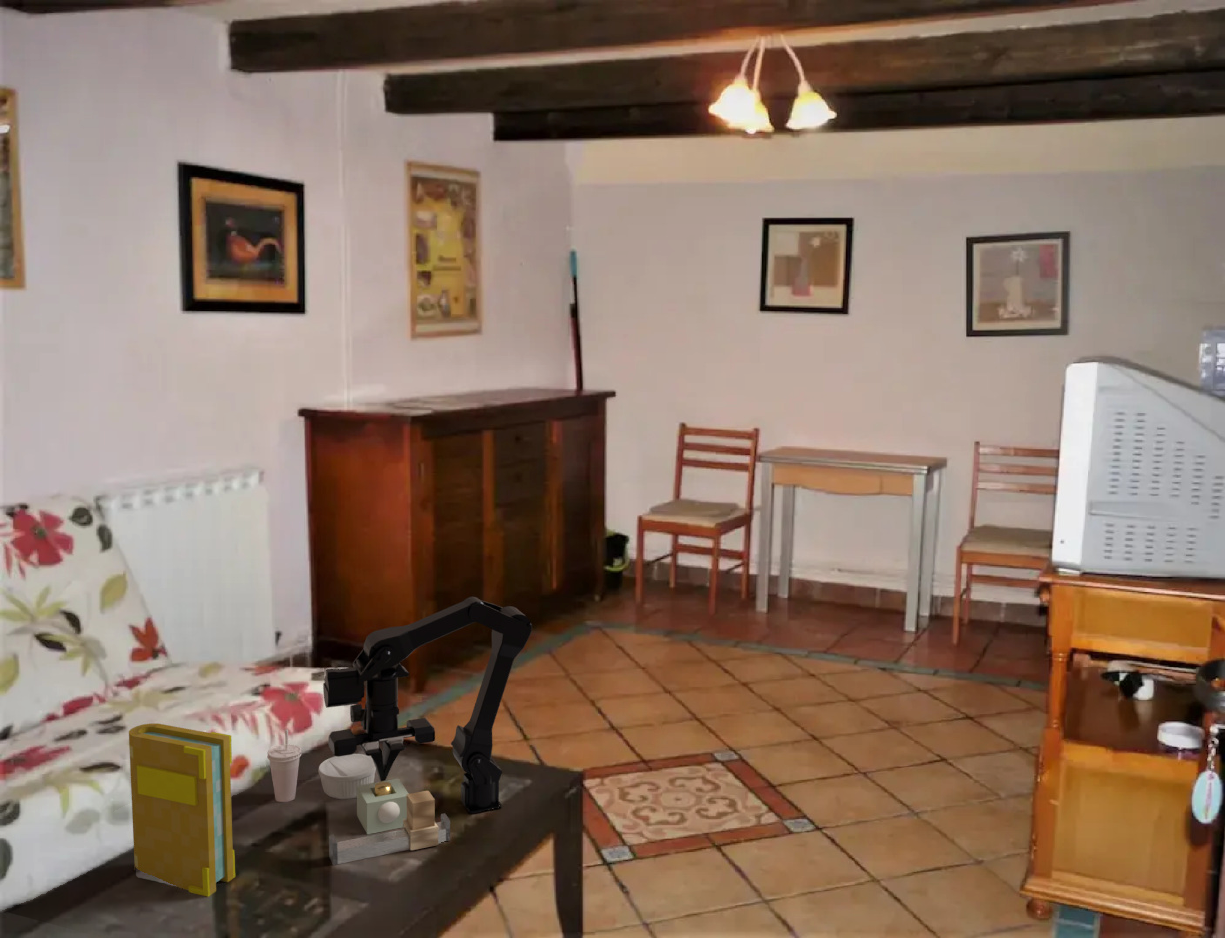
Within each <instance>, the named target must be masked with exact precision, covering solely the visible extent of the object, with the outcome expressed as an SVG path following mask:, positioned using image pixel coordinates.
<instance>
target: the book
mask: <svg viewBox="0 0 1225 938" xmlns="http://www.w3.org/2000/svg"><path fill="white" fill-rule="evenodd" d="M128 744H129V747H128V749H129V767H130V768H129V770H130V791H131V793H130V795H131V812H132V813H131V815H132V817H131V818H132V837H133V839H132V840H133V858H134V862H133V863H134V868H135V867H136V868H137V869H138V870H140V871H142V872H144V873H147V874H148V875H152V876H155V877H157V878H159V879H162V880H163V881H166V882H168V883H170V884H173V885H176V886H177V887H179V888H178V889H182V888H183V890H186V891H188V893H191V894H195V895H199V896H203V897H208V898H209V897H210V896H212V895H213V894H215V893H216V892H217V882H219V881H221V882H223V883H224V882H225V883H229V882H230V881H232V880H233V879H234V878H236V857H235V849H234V848H233V812H232V783H231V782H232V781H231V779H232V778H231V764H232V763H233V756H232V754H233V752H232V735H231V734H226V733H220V732H215V731H211V732H207V731H201V730H196V729H190V728H184V727H180V726H173V725H169V724H168V725H167V724H163V723H144V724H140V725H137V726H134V727H132V728H130V730H128ZM177 887H176V888H177Z"/></svg>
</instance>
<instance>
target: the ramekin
mask: <svg viewBox="0 0 1225 938" xmlns="http://www.w3.org/2000/svg"><path fill="white" fill-rule="evenodd" d="M376 772H377V770H376V767H375V765H374V762H373V759H372V757H371V756H366V755H365V753H364V754H362V753H353V754H352V755H346V756H339V757H337V756H331V757H329V758H328V759H325V760H324V761H322V762H321V763H320V764H319V766H318V776H320V781H321V785H322V789H323V792H324V793H325V794H326V795H327V796H328V797H330V798H332V799H333V798H334V799H338V800H352V799H354V798H356V799H357V786H358V785H364V784H369V783H375V776H376V775H375V774H376Z"/></svg>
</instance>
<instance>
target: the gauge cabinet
mask: <svg viewBox="0 0 1225 938" xmlns="http://www.w3.org/2000/svg"><path fill="white" fill-rule="evenodd" d="M379 782H389V783H391V794H389V795H383V796H378V797H375V784H377V783H379ZM407 794H410V793H409V792H408V791H407V789H406V787H405V786H404V785H403V783H402V782H401V780H400V778H394V779H389V780H387V779H386V780H385V781H377V782H375V781H374V783H369V784H364V785H358V786H357V797H356V816H357V818H358V820H359V822H360V824H361V825H362V827H363V829H364V831H365V833H366V835H371V834H372V835H373V834H375V833H377V834H378V833H381V832H382V833H383V832H388V831H391V830H392V831H393V830H398V829H403V819H407Z"/></svg>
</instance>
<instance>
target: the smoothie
mask: <svg viewBox="0 0 1225 938" xmlns="http://www.w3.org/2000/svg"><path fill="white" fill-rule="evenodd" d="M284 740H285V741H284V742H285V743H284V744H280V745H276V746H274V747H272V748H269V749H268V751H267V759H268V761H269V767H270V772H271V773H270V774H271V779H272V784H273V790H274V791H273V792H274V799H275V801H277V802H278V803H287V802H292V801H293V800H295V798H296V793H297V782H298V775H299V768H300V766H299V765H300V757H301V756H302V748H301V747H300V746H298V745H295V744H289V729H288V728H287V729H285V730H284Z"/></svg>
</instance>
